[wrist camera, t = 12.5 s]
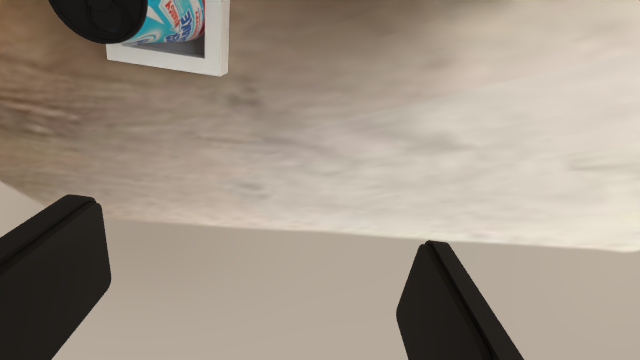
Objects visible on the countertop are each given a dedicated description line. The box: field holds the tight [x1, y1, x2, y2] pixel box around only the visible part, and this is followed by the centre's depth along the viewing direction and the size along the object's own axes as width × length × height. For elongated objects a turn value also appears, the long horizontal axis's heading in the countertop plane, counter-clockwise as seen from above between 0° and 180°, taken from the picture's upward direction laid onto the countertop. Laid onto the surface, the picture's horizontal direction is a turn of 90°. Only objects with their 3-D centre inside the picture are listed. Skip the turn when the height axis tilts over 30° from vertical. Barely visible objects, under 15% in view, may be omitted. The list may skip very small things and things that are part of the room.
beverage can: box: [49, 0, 205, 44], centre depth 26 cm, size 6×6×15 cm
